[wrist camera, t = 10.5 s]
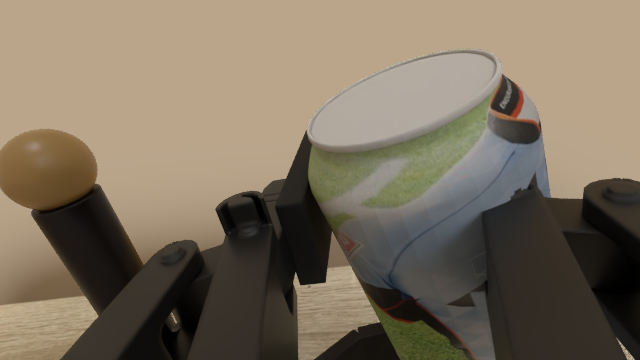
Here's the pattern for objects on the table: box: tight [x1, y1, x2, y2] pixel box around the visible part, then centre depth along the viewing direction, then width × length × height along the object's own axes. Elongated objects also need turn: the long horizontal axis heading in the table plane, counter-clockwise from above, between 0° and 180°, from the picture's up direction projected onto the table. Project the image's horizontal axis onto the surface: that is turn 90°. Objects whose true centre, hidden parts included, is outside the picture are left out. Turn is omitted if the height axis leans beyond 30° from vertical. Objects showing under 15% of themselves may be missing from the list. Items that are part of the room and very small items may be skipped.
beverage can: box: [307, 49, 551, 360], centre depth 12 cm, size 6×7×12 cm
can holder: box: [0, 129, 400, 360], centre depth 13 cm, size 13×20×17 cm, turn 94°
